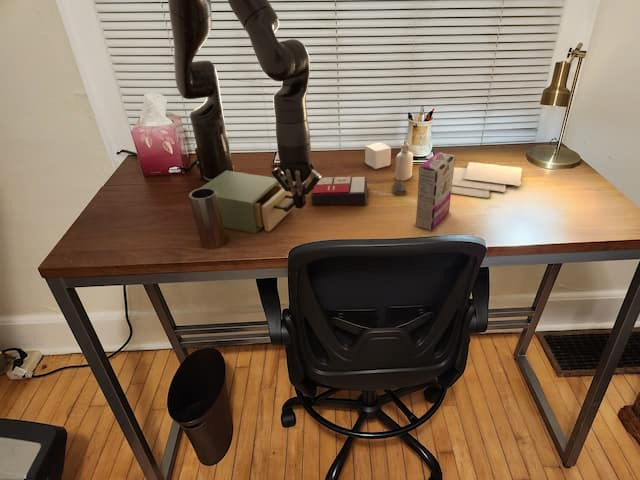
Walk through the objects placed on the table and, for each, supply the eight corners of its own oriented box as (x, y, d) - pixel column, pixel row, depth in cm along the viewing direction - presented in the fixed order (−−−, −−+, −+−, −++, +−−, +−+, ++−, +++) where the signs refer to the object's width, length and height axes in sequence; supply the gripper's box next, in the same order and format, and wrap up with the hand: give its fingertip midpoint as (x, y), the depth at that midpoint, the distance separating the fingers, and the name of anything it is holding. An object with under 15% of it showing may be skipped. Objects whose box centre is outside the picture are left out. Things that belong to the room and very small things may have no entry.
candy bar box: (432, 208, 119) (438, 150, 110) (449, 213, 117) (456, 154, 108) (413, 226, 112) (418, 165, 102) (431, 231, 110) (438, 170, 100)
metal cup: (196, 245, 105) (183, 196, 97) (211, 234, 109) (199, 186, 102) (217, 250, 103) (205, 200, 96) (230, 238, 108) (220, 189, 100)
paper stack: (518, 202, 122) (519, 199, 122) (430, 190, 129) (430, 188, 128) (521, 170, 140) (521, 168, 140) (443, 160, 146) (443, 158, 146)
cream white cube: (390, 165, 144) (391, 147, 141) (375, 169, 142) (375, 151, 138) (379, 159, 148) (380, 141, 145) (365, 163, 146) (365, 145, 142)
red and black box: (315, 176, 128) (366, 174, 127) (317, 189, 131) (367, 188, 130) (310, 192, 120) (365, 191, 119) (312, 207, 122) (365, 205, 121)
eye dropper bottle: (392, 176, 137) (394, 138, 130) (410, 174, 138) (412, 137, 131) (396, 181, 134) (398, 143, 127) (414, 180, 135) (417, 141, 128)
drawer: (307, 210, 118) (305, 186, 114) (284, 234, 107) (281, 210, 103) (244, 199, 123) (240, 176, 119) (216, 221, 113) (210, 197, 109)
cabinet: (283, 207, 121) (279, 178, 116) (256, 233, 110) (250, 202, 104) (231, 198, 125) (226, 170, 120) (200, 222, 114) (192, 192, 109)
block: (404, 186, 131) (404, 180, 130) (405, 195, 126) (406, 189, 125) (392, 186, 131) (392, 180, 130) (393, 195, 126) (393, 189, 125)
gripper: (259, 141, 98) (269, 209, 109) (313, 148, 95) (318, 218, 105) (275, 131, 104) (283, 196, 114) (326, 136, 100) (330, 204, 111)
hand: (300, 207), depth 110 cm, fingers closed
